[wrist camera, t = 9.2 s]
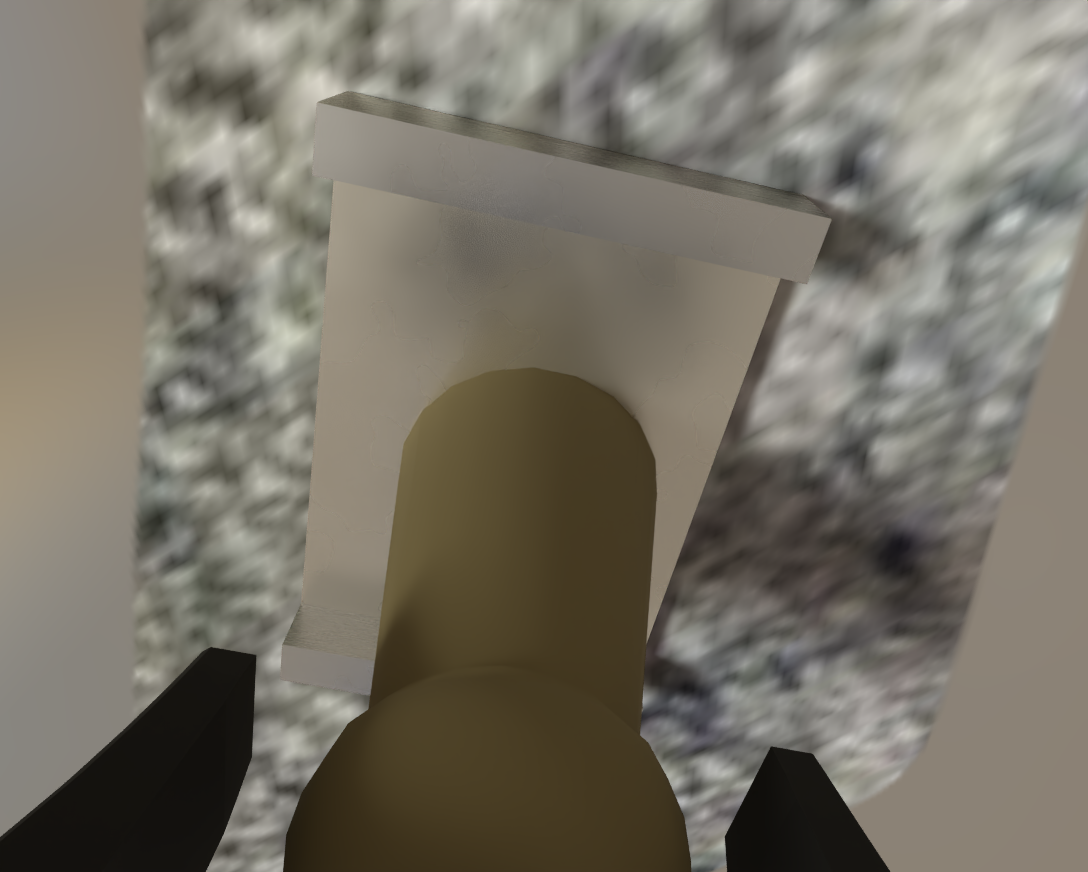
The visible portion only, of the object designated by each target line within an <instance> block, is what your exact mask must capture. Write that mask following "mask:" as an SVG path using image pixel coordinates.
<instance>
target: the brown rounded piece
mask: <svg viewBox="0 0 1088 872" xmlns="http://www.w3.org/2000/svg"><path fill="white" fill-rule="evenodd" d="M656 501H657V483H656V460H655V457H654V455H653V453H652V450H651V448H650V446H649V443H648V441H647V439H646V436H645V434H644V432H643V430H642V427H641V425H640V424H639V423H638V422H637V421H636V420H635V419H634V418H633V417H632V416H631V415H630V414H629V413H628V411H627V410H626V409H625V408H624V407H623V406H622V405H621V404H620V403H619V402H618V401H617V400H616V399H615V398H614V397H613V396H611V395H610V394H608V393H606V392H604V391H602V390H601V389H599V388H597V387H595V386H593V385H591V384H590V383H588V382H586V381H584V380H582V379H580V378H579V377H577V376H573V375H568V374H563V373H558V372H553V371H549V370H544V369H539V368H534V367H532V368H520V369H508V370H496V371H489V372H486V373H484V374H481V375H479V376H476V377H474V378H471V379H469V380H466V381H464V382H461V383H459V384H456V385H454V386H451V387H450V388H449V389H448V390H447V391H445V392H444V393H443V394H442V395H441V396H440V397H438V398H437V399H436V400H435V401H434V402H433V403H431V404H430V405H429V406H428V407H427V408H425V409H424V410H423V411H422V412H421V414H420V415H419V417H418V419H417V421H416V422H415V424H414V426H413V428H412V430H411V431H410V433H409V435H408V437H407V438H406V440H405V442H404V444H403V451H402V458H401V465H400V472H399V479H398V487H397V495H396V502H395V510H394V518H393V525H392V533H391V541H390V548H389V556H388V564H387V571H386V579H385V586H384V594H383V602H382V609H381V617H380V625H379V632H378V640H377V648H376V655H375V663H374V671H373V678H372V686H371V694H370V701H369V709H368V710H367V711H366V712H364V713H363V714H361V715H360V716H358V717H357V718H355V719H354V720H352V721H351V722H349V723H348V724H347V726H346V727H345V729H344V730H343V732H342V733H341V735H340V736H339V738H338V739H337V741H336V742H335V744H334V745H333V746H332V748H331V749H330V751H329V752H328V754H327V755H326V757H325V758H324V760H323V761H322V763H321V764H320V766H319V767H318V769H317V770H316V772H315V773H314V775H313V777H312V778H311V780H310V781H309V783H308V784H307V786H306V787H305V789H304V790H303V792H302V794H301V796H300V799H299V802H298V805H297V807H296V810H295V813H294V815H293V818H292V821H291V824H290V826H289V829H288V832H287V834H286V845H285V856H284V867H283V872H691V858H690V852H689V845H688V839H687V832H686V825H685V819H684V816H683V813H682V811H681V809H680V806H679V804H678V802H677V799H676V797H675V794H674V792H673V790H672V787H671V785H670V783H669V780H668V778H667V776H666V774H665V773H664V771H663V769H662V767H661V765H660V763H659V762H658V760H657V758H656V756H655V754H654V753H653V751H652V749H651V747H650V745H649V743H648V742H647V741H646V740H644V739H643V738H642V737H641V736H640V727H641V713H642V699H643V684H644V670H645V656H646V642H647V628H648V614H649V600H650V586H651V572H652V558H653V544H654V529H655V515H656Z"/></svg>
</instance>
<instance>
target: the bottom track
mask: <svg viewBox="0 0 1088 872" xmlns="http://www.w3.org/2000/svg"><path fill="white" fill-rule="evenodd" d="M312 175H313V176H317V177H322V178H326V179H331V180H334V185H333V198H332V211H331V224H330V237H329V250H328V263H327V276H326V290H325V303H324V316H323V329H322V342H321V355H320V368H319V381H318V394H317V407H316V420H315V433H314V446H313V459H312V472H311V485H310V498H309V511H308V524H307V537H306V550H305V563H304V576H303V589H302V602H301V605H300V607H299V610H298V612H297V614H296V616H295V618H294V621H293V623H292V625H291V627H290V629H289V631H288V634H287V636H286V638H285V640H284V642H283V644H282V658H281V674H280V680H285V681H290V682H296V683H302V684H307V685H313V686H319V687H324V688H330V689H336V690H341V691H347V692H353V693H358V694H364V695H370V694H371V686H372V678H373V671H374V663H375V655H376V648H377V640H378V632H379V625H380V617H381V609H382V602H383V594H384V586H385V579H386V571H387V564H388V556H389V548H390V541H391V533H392V525H393V518H394V510H395V502H396V495H397V487H398V479H399V472H400V465H401V458H402V451H403V444H404V442H405V440H406V438H407V437H408V435H409V433H410V431H411V430H412V428H413V426H414V424H415V422H416V421H417V419H418V417H419V415H420V414H421V412H422V411H423V410H424V409H425V408H427V407H428V406H429V405H430V404H431V403H433V402H434V401H435V400H436V399H437V398H438V397H440V396H441V395H442V394H443V393H444V392H445V391H447V390H448V389H449V388H450V387H451V386H454V385H456V384H459V383H461V382H464V381H466V380H469V379H471V378H474V377H476V376H479V375H481V374H484V373H486V372H489V371H496V370H508V369H520V368H532V367H534V368H539V369H544V370H549V371H553V372H558V373H563V374H568V375H573V376H577V377H579V378H580V379H582V380H584V381H586V382H588V383H590V384H591V385H593V386H595V387H597V388H599V389H601V390H602V391H604V392H606V393H608V394H610V395H611V396H613V397H614V398H615V399H616V400H617V401H618V402H619V403H620V404H621V405H622V406H623V407H624V408H625V409H626V410H627V411H628V413H629V414H630V415H631V416H632V417H633V418H634V419H635V420H636V421H637V422H638V423H639V424H640V425H641V427H642V430H643V432H644V434H645V436H646V439H647V441H648V443H649V446H650V448H651V450H652V453H653V455H654V457H655V460H656V483H657V501H656V515H655V529H654V544H653V558H652V572H651V586H650V600H649V614H648V628H647V641H648V639H649V636H650V633H651V630H652V628H653V625H654V622H655V620H656V617H657V614H658V611H659V609H660V606H661V603H662V601H663V598H664V595H665V592H666V590H667V587H668V584H669V581H670V579H671V576H672V573H673V571H674V568H675V565H676V562H677V560H678V557H679V554H680V552H681V549H682V546H683V543H684V541H685V538H686V535H687V533H688V530H689V527H690V524H691V522H692V519H693V516H694V513H695V511H696V508H697V505H698V503H699V500H700V497H701V494H702V492H703V489H704V486H705V484H706V481H707V478H708V475H709V473H710V470H711V467H712V464H713V462H714V459H715V456H716V454H717V451H718V448H719V445H720V443H721V440H722V437H723V435H724V432H725V429H726V426H727V424H728V421H729V418H730V415H731V413H732V410H733V407H734V405H735V402H736V399H737V396H738V394H739V391H740V388H741V386H742V383H743V380H744V377H745V375H746V372H747V369H748V366H749V364H750V361H751V358H752V356H753V353H754V350H755V347H756V345H757V342H758V339H759V337H760V334H761V331H762V328H763V326H764V323H765V320H766V317H767V315H768V312H769V309H770V307H771V304H772V301H773V298H774V296H775V293H776V290H777V288H778V285H779V282H780V279H785V280H790V281H794V282H799V283H803V284H807V283H808V280H809V277H810V275H811V272H812V270H813V267H814V264H815V262H816V259H817V257H818V254H819V251H820V249H821V246H822V244H823V241H824V239H825V236H826V233H827V231H828V228H829V226H830V223H831V220H832V219H831V218H830V217H829V216H828V215H827V214H825V213H824V212H823V211H822V210H820V209H819V208H818V207H817V206H816V205H814V204H813V203H812V202H811V201H810V200H808V199H807V198H806V197H805V196H804V195H801V194H797V193H792V192H788V191H783V190H779V189H775V188H770V187H766V186H761V185H757V184H753V183H748V182H744V181H740V180H735V179H731V178H726V177H722V176H718V175H713V174H709V173H704V172H700V171H696V170H691V169H687V168H683V167H678V166H674V165H669V164H665V163H661V162H656V161H652V160H647V159H643V158H639V157H634V156H630V155H626V154H621V153H617V152H612V151H608V150H604V149H599V148H595V147H590V146H586V145H582V144H577V143H573V142H569V141H564V140H560V139H555V138H551V137H547V136H542V135H538V134H533V133H529V132H525V131H520V130H516V129H512V128H507V127H503V126H498V125H494V124H490V123H485V122H481V121H476V120H472V119H468V118H463V117H459V116H455V115H450V114H446V113H441V112H437V111H433V110H428V109H424V108H419V107H415V106H411V105H406V104H402V103H398V102H393V101H389V100H384V99H380V98H376V97H371V96H367V95H362V94H358V93H354V92H349V91H346V92H344V93H341V94H338V95H335V96H333V97H330V98H327V99H325V100H322V101H319V102H317V107H316V122H315V138H314V154H313V170H312ZM646 644H647V642H646ZM642 711H643V703H642Z"/></svg>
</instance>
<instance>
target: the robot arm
mask: <svg viewBox="0 0 1088 872" xmlns="http://www.w3.org/2000/svg"><path fill="white" fill-rule="evenodd" d="M255 672H256V655H253V654H247V653H241V652H236V651H230V650H224V649H219V648H213V647H210V648H208V649H206V650H205V651H203V652H201V654H200V655H199V656H198V657H197V658H196V659H195V660H194V661H193V662H192V663H191V664H190V665H189V666H188V667H187V668H186V669H185V670H184V671H183V672H182V673H181V674H180V675H179V676H178V677H177V678H176V679H175V680H174V681H173V682H172V683H171V684H170V685H169V686H168V687H167V688H166V689H165V690H164V691H163V692H162V693H161V694H160V695H159V696H158V697H157V698H156V699H155V700H154V701H153V702H152V703H151V704H150V705H149V706H148V707H147V708H146V709H145V710H144V711H143V712H142V713H141V714H140V715H139V716H138V717H137V718H136V719H135V720H134V721H132V722H131V723H130V724H129V725H128V726H127V727H126V728H125V729H124V730H123V731H122V732H121V733H120V734H119V735H118V736H116V737H115V738H114V739H113V740H112V741H111V742H110V743H109V744H108V745H107V746H105V747H104V748H103V749H102V750H101V751H100V752H99V753H98V754H97V755H96V756H94V757H93V758H92V759H91V760H90V761H89V762H88V763H87V764H86V765H84V766H83V768H81V769H80V770H79V771H78V772H77V773H76V774H75V775H74V776H72V777H71V778H70V779H69V780H68V781H67V782H66V783H64V784H63V785H62V786H61V787H60V788H59V789H57V790H56V791H55V792H54V793H53V794H52V795H50V796H49V797H48V798H47V799H45V800H44V801H43V802H42V803H41V804H39V805H38V806H37V807H36V808H35V809H33V810H32V811H31V812H30V813H29V814H27V815H26V816H25V817H24V818H23V819H21V820H20V821H19V822H18V823H17V824H15V825H14V826H13V827H12V828H11V829H9V830H8V831H7V832H6V833H5V834H3V835H2V836H1V837H0V872H206V870H207V868H208V866H209V864H210V862H211V860H212V857H213V855H214V853H215V851H216V849H217V847H218V845H219V843H220V841H221V839H222V836H223V834H224V832H225V829H226V827H227V824H228V821H229V818H230V816H231V813H232V810H233V808H234V805H235V802H236V800H237V797H238V794H239V791H240V789H241V786H242V783H243V780H244V777H245V775H246V772H247V769H248V766H249V763H250V761H251V758H252V741H253V718H254V695H255ZM725 845H726V861H727V872H890V870H889V869H888V867H887V866H886V864H885V863H884V861H883V860H882V859H881V857H880V856H879V854H878V852H877V851H876V849H875V848H874V846H873V845H872V843H871V842H870V840H869V839H868V838H867V836H866V834H865V833H864V831H863V830H862V828H861V827H860V825H859V824H858V822H857V821H856V819H855V818H854V816H853V814H852V813H851V811H850V810H849V808H848V807H847V805H846V804H845V802H844V801H843V799H842V798H841V796H840V794H839V793H838V791H837V790H836V788H835V787H834V785H833V784H832V782H831V781H830V779H829V778H828V776H827V774H826V773H825V771H824V770H823V768H822V767H821V765H820V764H819V762H818V761H817V759H816V758H815V756H814V755H813V754H811V753H805V752H800V751H794V750H788V749H783V748H777V747H771V748H770V750H769V752H768V754H767V755H766V757H765V759H764V761H763V763H762V765H761V767H760V769H759V771H758V773H757V775H756V777H755V779H754V781H753V783H752V785H751V787H750V789H749V791H748V793H747V794H746V796H745V798H744V800H743V802H742V804H741V806H740V808H739V810H738V812H737V814H736V816H735V818H734V820H733V822H732V824H731V826H730V828H729V830H728V831H727V833H726V835H725Z"/></svg>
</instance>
